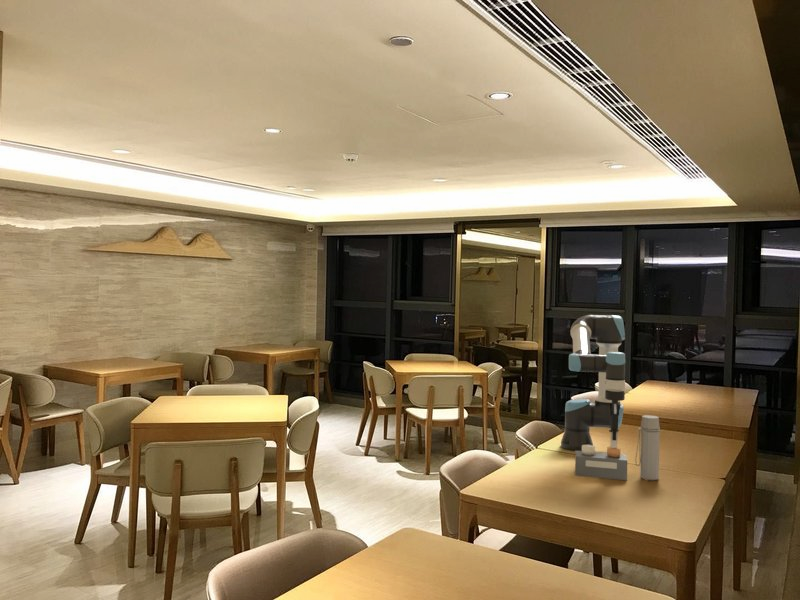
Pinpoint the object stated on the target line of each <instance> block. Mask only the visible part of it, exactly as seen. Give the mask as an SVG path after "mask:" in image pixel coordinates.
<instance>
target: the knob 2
mask: <svg viewBox="0 0 800 600" xmlns="http://www.w3.org/2000/svg"><path fill="white" fill-rule="evenodd" d="M606 453H607V455H608V456H611V457H615V458H617V457H620V454H621V447H617V448H610V446H607V448H606Z"/></svg>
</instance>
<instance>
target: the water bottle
mask: <svg viewBox="0 0 800 600" xmlns="http://www.w3.org/2000/svg"><path fill="white" fill-rule="evenodd" d="M660 431H661V427H660V418H659V416H657V415H650V414H648V415H647V414H644V415H642V416H641V421H640V427H638V437H637V438H638V439H637V446H636V453H635V466H636V467H640V469H639V471H640V478H641V479H643V480H646V481H657V480H659V478H660V438H661V437H660V436H661V434H660ZM639 445H640V458H639V463H638V464H637V456H638V452H639V451H638V450H639Z"/></svg>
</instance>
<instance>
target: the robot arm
mask: <svg viewBox="0 0 800 600" xmlns="http://www.w3.org/2000/svg"><path fill="white" fill-rule="evenodd" d="M624 324H625V323H624V320H623V317H622V316H620V315H614V314H585V315H583V316H581V317H579V318H577V319H575V321H574V322H573V323H572V325H571V327H570V330H569V331H570V336H571V338H572V353H570V354H569V355H568V369H569V370H570V371H572V372H577V373H579V372H585V373H589V372H590V373H598V392H597V393H598V395H597V397H595V398H594V402H592V401H591V400H590V399H588V398H577V399H575V398H574V399H570V400H568V401H566V402H565V407H564V408H565V409H564V412H565V413H564V431H563V436H562V438H561V441H560V447H561V448H563V449H564V450H565V449H566V450H570V451H575V452H576V451H582V445H593V446H594V443H593V439H592V435H591V433H590V432H591V431H590V430H591V429H590V428H603V429H610V430H608V431H609V433H610V439H609V440H610V446H609V447H610V448H617V447H618V440H619V439H618V437H619V432H620V429H619V428H620V427H621V425H622V422H623V415H624V404H622V403H621V401H624V400H625V399H626V398H625V397H626V396H625V390H626V380H625V379H626V353H624V352H620V351H619V347H620V346H621V345H622V341H625V340H626V333H625V331H626V330H625V325H624ZM590 339H591V340H595V344H596V345H597V346H598V349H599V350H598V354H597V353H596V354H592V352H591V351H592V350H591V342H590V341H591V340H590ZM618 448H619V447H618Z"/></svg>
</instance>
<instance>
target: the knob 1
mask: <svg viewBox="0 0 800 600" xmlns="http://www.w3.org/2000/svg"><path fill="white" fill-rule="evenodd" d="M595 452H596V446H595V445H594V444H593V445H582V454H585V455H594V454H595Z"/></svg>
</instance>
